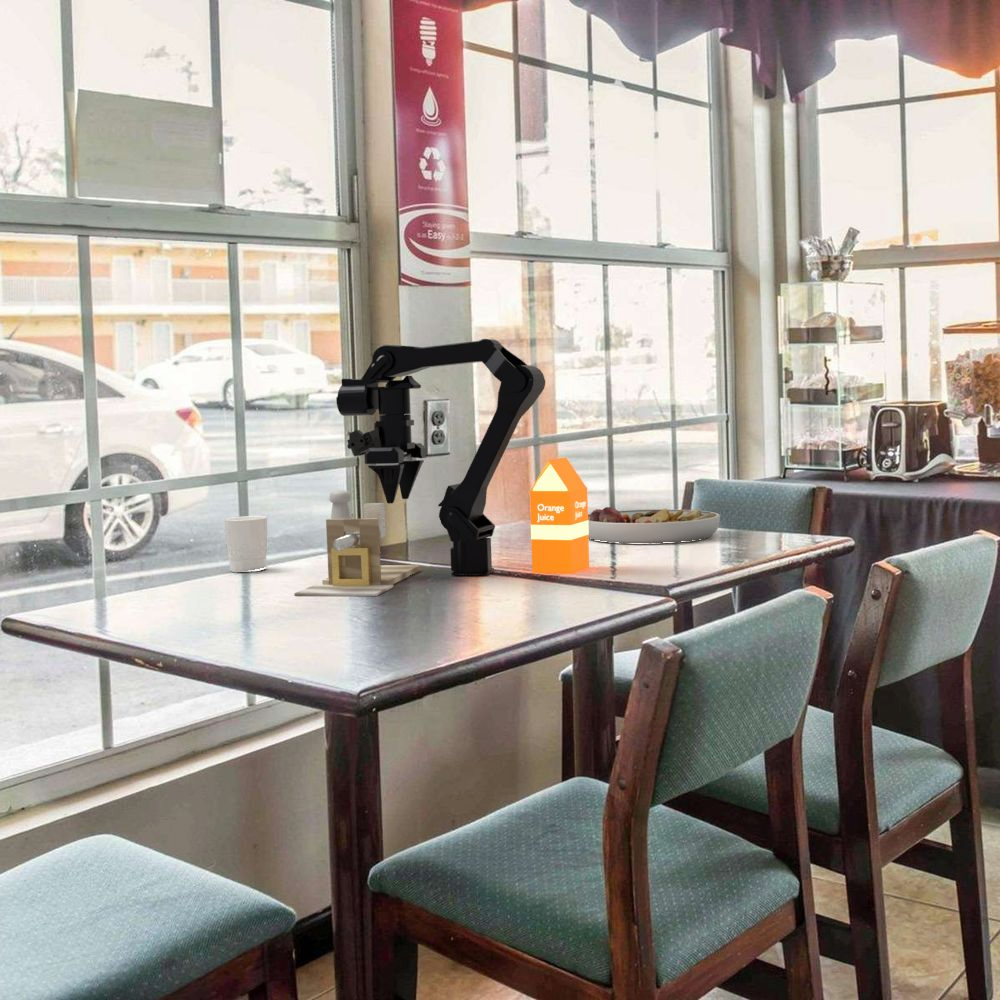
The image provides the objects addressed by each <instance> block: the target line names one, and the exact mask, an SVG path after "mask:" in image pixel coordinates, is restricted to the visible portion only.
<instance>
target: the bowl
mask: <svg viewBox="0 0 1000 1000" xmlns="http://www.w3.org/2000/svg"><path fill="white" fill-rule="evenodd" d="M720 522H721V515H720V513H717V512H713V511H707V510H701V509H695V510H694V509H676V508H675V509H670V508H669V509H667V508H663V509H660V508H659V509H629V510H628V509H627V510H618V509H616V508H615V507H612V506H606V507H604V508H602V509H600V508H599V509H594V510H592V512H591V513H588V527H589V534H588V537H589V538H591V539H594V540H600V541H607V542H619V543H663V542H681V541H692V540H699V539H703V540H705V539H704V538H706V539H708V538H710V537H711V536H713V535H714V534H715V533H716V532H717V531H718V528H719V526H720ZM707 537H708V538H707ZM591 539H590V540H591ZM699 541H700V540H699Z"/></svg>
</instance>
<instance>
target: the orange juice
mask: <svg viewBox="0 0 1000 1000" xmlns="http://www.w3.org/2000/svg"><path fill="white" fill-rule="evenodd" d="M529 499H530V500H529V501H530V502H529V504H530V506H529V508H530V540H531V568H532V569H531V570H532V573H533V574H558V575H559V574H561V575H562V574H563V575H572V574H575V573H578V572H581V571H583V570H586V569H589V568H590V552H589V551H590V548H589V547H590V545H589V541H590V539H589V537H588V534H589V527H588V514H589V507H588V505H589V503H588V487H587V486H586V485H585V483H584V482H583V479H581V477H580V476H579V474H578V473H577V471H576V469H575V468H574V466H572V464H571V463H570V461H569V459H568V457H567V456H565V457H560V458H559V457H558V458H553V459H549V460H548V461H547V462H546V464H545V466H544V467H543V469H542V471H541V473H539V476H537V479H536V481H535V482H534V484H533V485H532V487H531V488H530V490H529Z"/></svg>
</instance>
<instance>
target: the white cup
mask: <svg viewBox="0 0 1000 1000" xmlns="http://www.w3.org/2000/svg"><path fill="white" fill-rule="evenodd" d="M224 527H225V529H224V530H225V539H226V548H227V557H228V558H229V559H228V561H229V571H230V572H231V573H237V572H242V571H248V570H255V569H260V568H264V567H266V568H267V554H268V517H267V516H264V515H263V516H262V515H247V516H234V517H228V518H227V517H226V518H224ZM237 574H238V573H237Z"/></svg>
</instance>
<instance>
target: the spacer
mask: <svg viewBox="0 0 1000 1000" xmlns="http://www.w3.org/2000/svg"><path fill="white" fill-rule="evenodd" d="M341 555H361V569H362V578H342V561H341ZM331 556H332V580H333V586H370V585H372V577H371V552H370V547H349V548H346V549H344V550H341V551H336V550H335V549H334V548H331Z"/></svg>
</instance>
